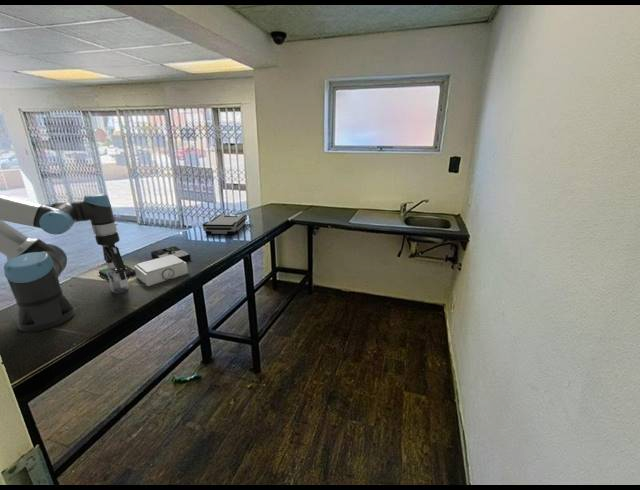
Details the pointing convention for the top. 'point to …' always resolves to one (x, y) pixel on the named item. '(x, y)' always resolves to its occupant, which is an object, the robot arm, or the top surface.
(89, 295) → the top surface
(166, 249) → the multimeter
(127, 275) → the disk drive
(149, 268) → the scale
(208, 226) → the game console
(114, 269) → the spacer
